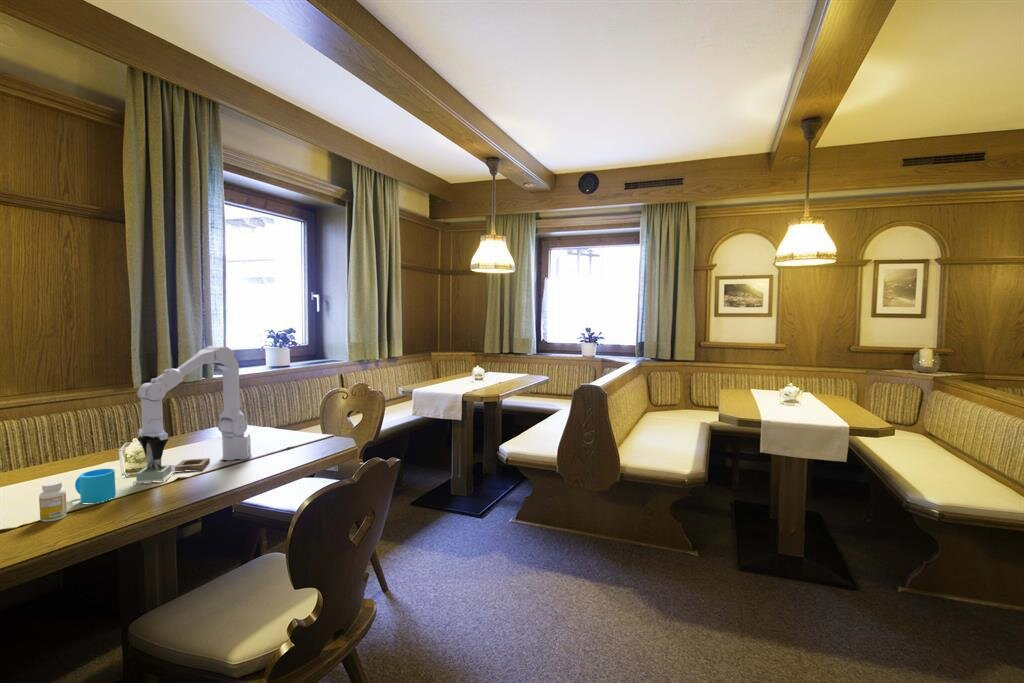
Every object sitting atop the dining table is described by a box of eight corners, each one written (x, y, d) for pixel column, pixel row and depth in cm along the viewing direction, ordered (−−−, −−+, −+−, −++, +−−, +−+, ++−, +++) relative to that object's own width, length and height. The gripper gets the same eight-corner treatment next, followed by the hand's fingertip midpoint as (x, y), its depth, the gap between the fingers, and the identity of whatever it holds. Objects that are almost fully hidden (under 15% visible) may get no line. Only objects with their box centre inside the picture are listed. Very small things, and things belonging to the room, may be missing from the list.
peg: (163, 466, 172) (162, 440, 172) (158, 469, 168) (158, 443, 168) (149, 467, 171) (149, 440, 170) (144, 470, 167) (144, 443, 167)
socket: (209, 463, 187) (209, 458, 187) (202, 470, 179) (202, 464, 179) (183, 465, 185) (183, 460, 184) (174, 472, 176) (174, 466, 176)
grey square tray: (174, 473, 175) (174, 464, 175) (164, 481, 167) (164, 472, 166) (144, 475, 173) (144, 466, 173) (133, 484, 164) (132, 474, 164)
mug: (122, 495, 154) (121, 469, 154) (96, 505, 146) (95, 478, 146) (90, 492, 156) (89, 467, 156) (62, 502, 148) (61, 475, 148)
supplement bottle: (51, 514, 140) (49, 480, 139) (72, 513, 140) (70, 479, 140) (34, 522, 134) (32, 487, 134) (56, 521, 135) (54, 486, 134)
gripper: (127, 418, 168) (129, 458, 169) (150, 423, 162) (152, 464, 162) (150, 414, 175) (152, 453, 175) (174, 419, 168) (175, 459, 168)
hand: (153, 458), depth 169 cm, fingers closed on peg, 4 cm apart
